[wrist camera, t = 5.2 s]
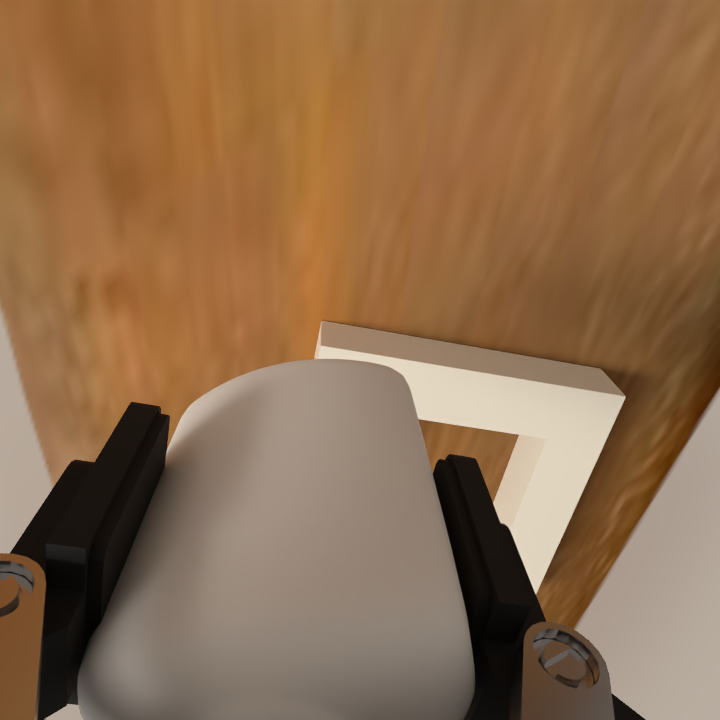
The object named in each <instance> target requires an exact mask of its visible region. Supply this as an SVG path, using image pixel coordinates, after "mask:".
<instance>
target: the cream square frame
mask: <svg viewBox="0 0 720 720" xmlns="http://www.w3.org/2000/svg"><path fill="white" fill-rule="evenodd" d="M314 359H346V360H356V361H364V362H370V363H376V364H380V365H384V366H388V367H390V368H392V369H394V370H395V371H397V372H399V373H400V374H402V375H403V376H404V378H405V380H406V381H407V383H408V385H409V387H410V390H411V393H412V397H413V401H414V405H415V408H416V412H417V416H418V419H422V420H428V421H435V422H441V423H448V424H454V425H460V426H467V427H473V428H480V429H486V430H493V431H499V432H506V433H512V434H519V436H518V439H517V442H516V444H515V447H514V450H513V452H512V455H511V458H510V460H509V463H508V465H507V468H506V471H505V473H504V476H503V479H502V481H501V484H500V487H499V489H498V492H497V495H496V497H495V500H494V502H493V505H494V507H495V510H496V513H497V515H498V518H499V520H500V523H503V524H505V525H507V526H508V528H509V530H510V531H511V534H512V536H513V539H514V541H515V544H516V546H517V549H518V551H519V554H520V556H521V559H522V561H523V564H524V567H525V569H526V572H527V574H528V577H529V579H530V582H531V584H532V587H533V589H534V592H535V594H536V593H537V591H538V589H539V587H540V584H541V582H542V580H543V578H544V576H545V574H546V571H547V569H548V567H549V565H550V563H551V560H552V558H553V556H554V554H555V552H556V549H557V547H558V545H559V543H560V541H561V538H562V536H563V534H564V532H565V530H566V527H567V525H568V523H569V521H570V519H571V516H572V514H573V512H574V510H575V508H576V505H577V503H578V501H579V499H580V497H581V494H582V492H583V490H584V488H585V486H586V483H587V481H588V479H589V477H590V475H591V472H592V470H593V468H594V466H595V464H596V462H597V459H598V457H599V455H600V453H601V451H602V448H603V446H604V444H605V442H606V440H607V437H608V435H609V433H610V431H611V429H612V426H613V424H614V422H615V420H616V418H617V415H618V413H619V411H620V409H621V407H622V404H623V402H624V400H625V398H626V396H625V395H624V394H623V393H622V392H621V391H620V389H619V388H618V387H617V386H616V385H615V384H614V383H613V382H612V381H611V379H610V378H609V377H608V376H607V375H606V374H605V373H604V372H603V371H602V370H601V369H600V368H594V367H588V366H582V365H577V364H571V363H565V362H559V361H553V360H548V359H542V358H536V357H530V356H524V355H519V354H513V353H507V352H501V351H495V350H490V349H484V348H478V347H472V346H467V345H461V344H455V343H449V342H443V341H438V340H432V339H426V338H420V337H414V336H409V335H403V334H397V333H391V332H386V331H380V330H374V329H368V328H362V327H357V326H351V325H345V324H339V323H333V322H328V321H321V326H320V331H319V336H318V341H317V347H316V352H315V357H314Z"/></svg>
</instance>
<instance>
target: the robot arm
mask: <svg viewBox="0 0 720 720" xmlns="http://www.w3.org/2000/svg"><path fill="white" fill-rule="evenodd" d="M169 421H170V416H169V415H165V414H161V408H160V406H154V405H148V404H142V403H136V402H131V403H130V405H129V406H128V408H127V409H126V411H125V413H124V414H123V416H122V418H121V419H120V421H119V423H118V424H117V426H116V428H115V429H114V431H113V433H112V434H111V436H110V438H109V439H108V441H107V443H106V444H105V446H104V448H103V449H102V451H101V453H100V454H99V456H98V458H97V459H96V461H95V462H88V461H81V460H74V461H72V462H71V463H70V464H69V465H68V467H67V468H66V470H65V471H64V473H63V474H62V476H61V477H60V479H59V480H58V482H57V483H56V485H55V486H54V488H53V489H52V491H51V492H50V494H49V495H48V497H47V498H46V500H45V501H44V503H43V504H42V506H41V507H40V509H39V510H38V512H37V513H36V515H35V516H34V518H33V520H32V521H31V522H30V524H29V525H28V527H27V528H26V530H25V532H24V533H23V534H22V536H21V537H20V539H19V541H18V542H17V544H16V545H15V547H14V548H13V549H12V551H11V552H10V554H0V720H46V717H48V716H50V715H52V714H53V713H55V712H57V711H58V710H60V709H62V708H63V707H65V706H66V705H67V704H76V705H79V704H78V691H77V685H78V674H79V670H80V666H81V662H82V658H83V655H84V652H85V649H86V647H87V644H88V641H89V639H90V636H91V635H92V634H93V632H94V631H95V630H96V628H97V627H98V625H99V624H100V623H101V621H102V618H103V616H104V613H105V611H106V608H107V606H108V603H109V601H110V598H111V596H112V594H113V591H114V589H115V586H116V584H117V581H118V579H119V576H120V574H121V571H122V569H123V567H124V564H125V562H126V559H127V557H128V554H129V552H130V550H131V547H132V545H133V542H134V540H135V538H136V535H137V533H138V530H139V528H140V525H141V523H142V521H143V518H144V516H145V513H146V511H147V508H148V506H149V504H150V501H151V499H152V496H153V494H154V491H155V489H156V487H157V484H158V482H159V479H160V477H161V475H162V472H163V470H164V467H165V460H166V451H167V441H168V431H169ZM433 478H434V482H435V486H436V490H437V493H438V497H439V501H440V505H441V509H442V513H443V517H444V521H445V525H446V529H447V533H448V537H449V541H450V545H451V548H452V553H453V557H454V561H455V566H456V570H457V574H458V579H459V583H460V587H461V592H462V596H463V600H464V604H465V609H466V614H467V619H468V625H469V632H470V639H471V646H472V652H473V660H474V668H475V691H474V696H473V699H472V702H471V705H470V707H469V710H468V712H467V715H466V716H465V718H464V719H463V720H645V719H644V718H643V717H641V716H640V715H639V714H637V713H636V712H635V711H634V710H632V709H631V708H630V707H629V706H627V705H626V704H625V703H623V702H622V701H620V700H619V699H618V698H617V697H616V696H614V695H613V694H612V693H611V686H610V677H609V672H608V669H607V666H606V662H605V661H604V659H603V658H602V656H601V654H600V653H599V651H598V650H597V649H596V648H595V647H594V646H593V644H592V643H591V642H590V641H589V640H587V639H586V638H585V637H584V636H582V635H581V634H579V633H578V632H577V631H575V630H573V629H571V628H569V627H567V626H565V625H562V624H558V623H554V622H546V620H545V617H544V615H543V612H542V609H541V607H540V604H539V602H538V599H537V597H536V594H535V592H534V589H533V587H532V584H531V582H530V579H529V577H528V574H527V572H526V569H525V567H524V564H523V561H522V559H521V556H520V554H519V551H518V549H517V546H516V544H515V541H514V539H513V536H512V534H511V531H510V530H509V528H508V526H507V525H505V524H503V523H500V520H499V518H498V515H497V513H496V510H495V507H494V505H493V502H492V499H491V497H490V494H489V492H488V489H487V486H486V484H485V481H484V478H483V476H482V473H481V471H480V468H479V465H478V463H477V461H476V459H475V458H471V457H465V456H459V455H452V454H449V455H448V456H447V457H446V459H445V460H442V459H439V460H438V461H437V463H436V466H435V469H434V472H433Z"/></svg>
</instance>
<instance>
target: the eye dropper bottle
mask: <svg viewBox="0 0 720 720" xmlns="http://www.w3.org/2000/svg"><path fill="white" fill-rule="evenodd" d="M77 691H78V704H79V709H80V713H81V715H82V718H83V720H463V719H464V718H465V716H466V715H467V712H468V710H469V707H470V705H471V702H472V699H473V696H474V691H475V668H474V660H473V652H472V646H471V639H470V632H469V625H468V619H467V614H466V609H465V604H464V600H463V596H462V592H461V587H460V583H459V579H458V574H457V570H456V566H455V561H454V557H453V553H452V548H451V545H450V541H449V537H448V533H447V529H446V525H445V521H444V517H443V513H442V509H441V505H440V501H439V497H438V493H437V490H436V486H435V482H434V478H433V474H432V470H431V466H430V462H429V458H428V454H427V451H426V447H425V443H424V439H423V435H422V431H421V427H420V424H419V420H418V416H417V412H416V408H415V405H414V401H413V397H412V393H411V390H410V387H409V385H408V383H407V381H406V380H405V378H404V376H403V375H402V374H400V373H399V372H397V371H395V370H394V369H392V368H390V367H388V366H384V365H380V364H376V363H370V362H364V361H356V360H346V359H309V360H299V361H292V362H286V363H281V364H276V365H272V366H268V367H265V368H261V369H258V370H255V371H252V372H249V373H246V374H244V375H241V376H239V377H236V378H234V379H232V380H230V381H227V382H225V383H224V384H222V385H220V386H218V387H216V388H214V389H213V390H211V391H209V392H208V393H206V394H204V395H203V396H201V397H200V398H199V399H197V400H196V401H195V402H193V403H192V404H191V405H190V406H189V407H188V409H187V410H186V411H185V413H184V414H183V416H182V417H181V419H180V421H179V424H178V426H177V428H176V431H175V433H174V435H173V438H172V440H171V442H170V445H169V447H168V449H167V452H166V460H165V467H164V470H163V472H162V475H161V477H160V479H159V482H158V484H157V487H156V489H155V491H154V494H153V496H152V499H151V501H150V504H149V506H148V508H147V511H146V513H145V516H144V518H143V521H142V523H141V525H140V528H139V530H138V533H137V535H136V538H135V540H134V542H133V545H132V547H131V550H130V552H129V554H128V557H127V559H126V562H125V564H124V567H123V569H122V571H121V574H120V576H119V579H118V581H117V584H116V586H115V589H114V591H113V594H112V596H111V598H110V601H109V603H108V606H107V608H106V611H105V613H104V616H103V618H102V621H101V623H100V624H99V625H98V627H97V628H96V630H95V631H94V632H93V634H92V635H91V636H90V639H89V641H88V644H87V647H86V649H85V652H84V655H83V658H82V662H81V666H80V670H79V674H78V685H77Z"/></svg>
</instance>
